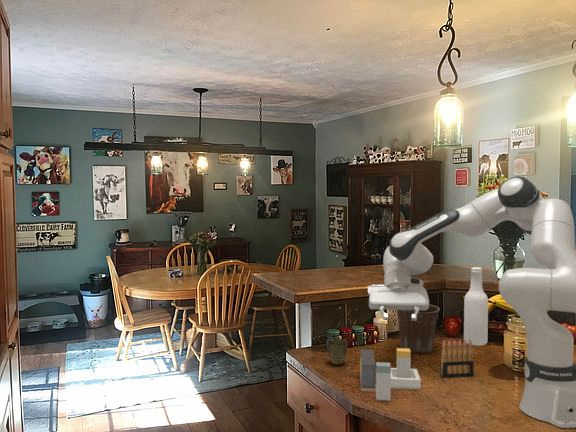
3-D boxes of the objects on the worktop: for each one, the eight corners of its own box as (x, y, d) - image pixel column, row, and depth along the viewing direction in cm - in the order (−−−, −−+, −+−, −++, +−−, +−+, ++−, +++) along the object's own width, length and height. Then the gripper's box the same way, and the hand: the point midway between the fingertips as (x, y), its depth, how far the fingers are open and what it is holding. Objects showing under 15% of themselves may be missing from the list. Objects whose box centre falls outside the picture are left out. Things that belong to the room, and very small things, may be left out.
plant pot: (446, 348, 187) (446, 306, 187) (427, 358, 175) (428, 314, 175) (407, 339, 198) (408, 300, 197) (387, 349, 186) (387, 307, 185)
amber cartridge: (409, 379, 154) (409, 348, 154) (410, 383, 151) (410, 351, 151) (396, 379, 155) (396, 348, 154) (397, 382, 152) (397, 351, 151)
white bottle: (464, 345, 191) (465, 269, 189) (463, 338, 199) (463, 265, 198) (488, 347, 188) (490, 269, 187) (486, 340, 197) (487, 266, 195)
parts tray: (416, 378, 157) (416, 368, 157) (420, 389, 148) (420, 380, 148) (386, 376, 158) (386, 367, 158) (389, 388, 149) (389, 378, 149)
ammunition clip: (442, 378, 157) (442, 341, 157) (439, 375, 159) (440, 339, 159) (473, 376, 159) (474, 340, 158) (471, 374, 160) (471, 338, 160)
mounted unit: (373, 372, 162) (373, 349, 162) (376, 391, 147) (376, 365, 146) (359, 372, 163) (359, 348, 162) (360, 391, 147) (360, 365, 147)
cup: (346, 368, 166) (346, 345, 166) (325, 366, 168) (325, 343, 167) (348, 360, 174) (348, 338, 173) (327, 359, 175) (327, 337, 175)
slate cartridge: (389, 396, 143) (389, 362, 143) (390, 400, 140) (390, 366, 140) (375, 395, 144) (375, 362, 143) (376, 399, 141) (376, 365, 140)
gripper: (367, 279, 172) (368, 313, 162) (427, 280, 169) (431, 315, 160) (367, 289, 176) (368, 323, 167) (425, 290, 174) (429, 325, 164)
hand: (399, 319), depth 163 cm, fingers open, 8 cm apart
